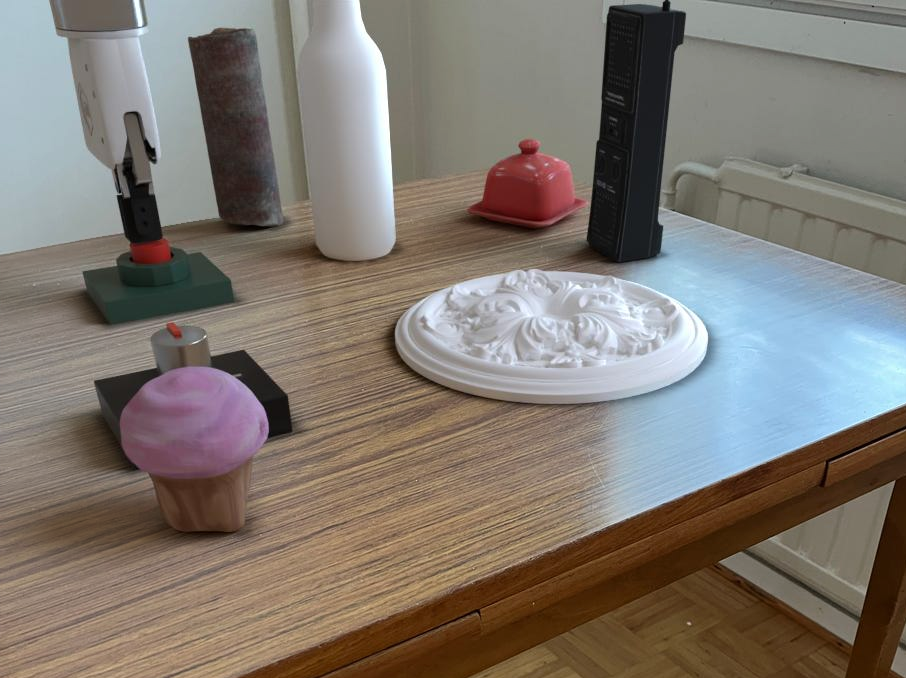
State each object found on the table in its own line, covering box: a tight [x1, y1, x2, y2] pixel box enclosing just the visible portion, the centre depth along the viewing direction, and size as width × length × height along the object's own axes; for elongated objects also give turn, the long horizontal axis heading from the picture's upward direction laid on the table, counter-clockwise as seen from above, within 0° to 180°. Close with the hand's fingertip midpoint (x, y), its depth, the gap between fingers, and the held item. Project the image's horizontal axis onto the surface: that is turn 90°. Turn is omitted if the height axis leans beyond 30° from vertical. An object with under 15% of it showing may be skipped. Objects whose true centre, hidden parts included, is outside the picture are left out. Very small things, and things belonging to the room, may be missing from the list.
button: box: [129, 237, 171, 264], centre depth 94 cm, size 4×4×2 cm
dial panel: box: [93, 349, 294, 471], centre depth 75 cm, size 12×10×3 cm
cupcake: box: [120, 367, 269, 533], centre depth 62 cm, size 9×9×10 cm
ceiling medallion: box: [394, 268, 709, 405], centre depth 88 cm, size 28×28×3 cm
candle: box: [187, 27, 284, 228], centre depth 110 cm, size 8×7×20 cm
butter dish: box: [466, 138, 589, 229], centre depth 115 cm, size 12×12×8 cm
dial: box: [149, 321, 213, 376], centre depth 72 cm, size 4×4×4 cm
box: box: [81, 245, 235, 326], centre depth 96 cm, size 12×10×4 cm
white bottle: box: [297, 0, 397, 262], centre depth 99 cm, size 9×9×30 cm
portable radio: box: [585, 0, 687, 263], centre depth 100 cm, size 8×6×25 cm
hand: (144, 238), depth 94 cm, fingers closed
